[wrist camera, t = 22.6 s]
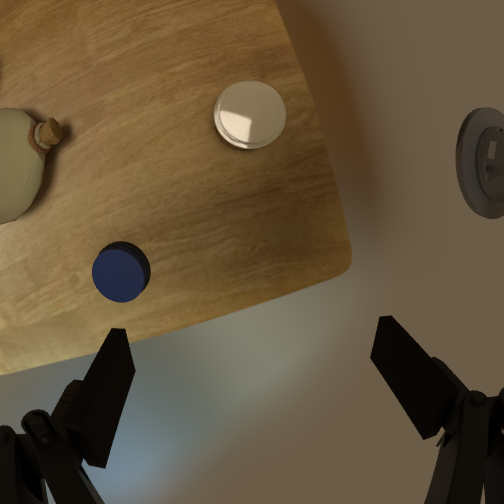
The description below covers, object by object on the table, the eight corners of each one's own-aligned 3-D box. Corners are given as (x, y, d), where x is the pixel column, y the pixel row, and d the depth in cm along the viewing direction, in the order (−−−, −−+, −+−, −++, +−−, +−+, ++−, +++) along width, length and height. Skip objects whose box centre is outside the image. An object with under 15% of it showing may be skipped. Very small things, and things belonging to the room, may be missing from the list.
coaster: (159, 258, 40) (158, 260, 39) (138, 304, 41) (136, 307, 40) (108, 231, 38) (106, 232, 37) (90, 279, 39) (88, 281, 39)
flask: (-21, 140, 30) (64, 82, 31) (4, 230, 35) (92, 183, 36) (-57, 141, 21) (33, 66, 22) (-30, 247, 26) (63, 190, 27)
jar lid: (111, 233, 37) (106, 237, 35) (157, 264, 39) (154, 270, 37) (88, 277, 38) (83, 282, 36) (132, 306, 40) (129, 312, 38)
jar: (280, 115, 36) (303, 101, 26) (253, 161, 37) (266, 162, 27) (233, 88, 34) (238, 63, 24) (204, 134, 35) (199, 125, 25)
